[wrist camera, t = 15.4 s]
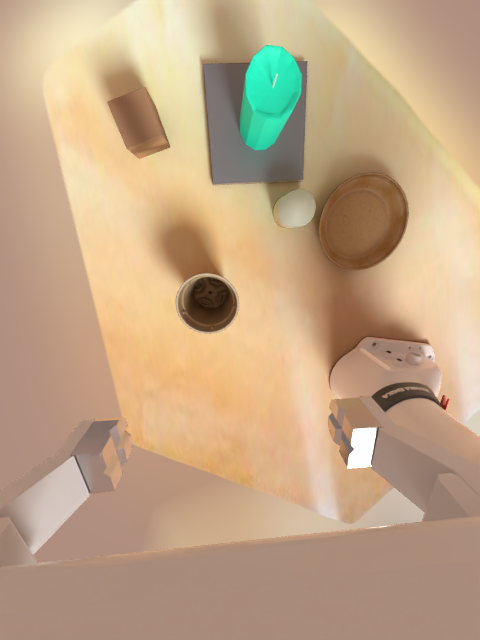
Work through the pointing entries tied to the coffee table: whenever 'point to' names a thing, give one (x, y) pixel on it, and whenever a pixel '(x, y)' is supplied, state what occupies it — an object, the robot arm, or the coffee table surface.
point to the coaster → (227, 143)
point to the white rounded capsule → (294, 209)
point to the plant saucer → (363, 221)
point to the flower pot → (217, 311)
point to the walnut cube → (139, 123)
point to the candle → (268, 96)
